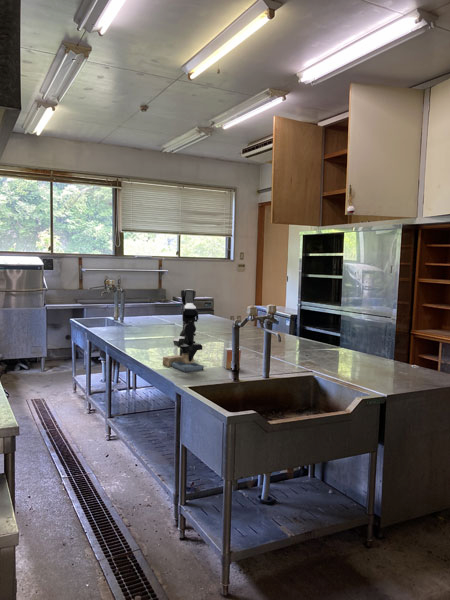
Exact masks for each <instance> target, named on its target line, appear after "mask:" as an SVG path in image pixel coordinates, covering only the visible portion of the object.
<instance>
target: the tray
mask: <svg viewBox="0 0 450 600" xmlns="http://www.w3.org/2000/svg"><path fill="white" fill-rule="evenodd" d="M170 367H172V368H174V369H176V370H179V371H181V372H184V373H187V372H197V371H204V365H203V364H200V363H197V362H194V361H193V363H188V364H186V363H183V362H182V361H180V362H171V366H170Z"/></svg>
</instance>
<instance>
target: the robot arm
mask: <svg viewBox="0 0 450 600" xmlns="http://www.w3.org/2000/svg"><path fill="white" fill-rule="evenodd" d="M196 294H197V292H196V291H195V290H194V289H192V288H186V289H185V288H184V289H182V290H181V291H180V300H181V302H182V304H183V309H182V312H181V313H182V316H181V317H182V330H181V331H180V333H179V336H178V337H176V338H173V339H172V342H173V345H174V346H176V347H177V348H179V355H180V356H182V354H183V353H188V355H189V362H191V360H192V359H193V357H194V358H195V354H197V352H198V351H202V350H203V344H201V343H196V340H195V336H196V335H197V333H195V332H196V331H197V327H196V324H195V322H196V323H198V320H199V311H198V309H197V307H196V305H194V301H195V299H196ZM193 360H194V359H193Z"/></svg>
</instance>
